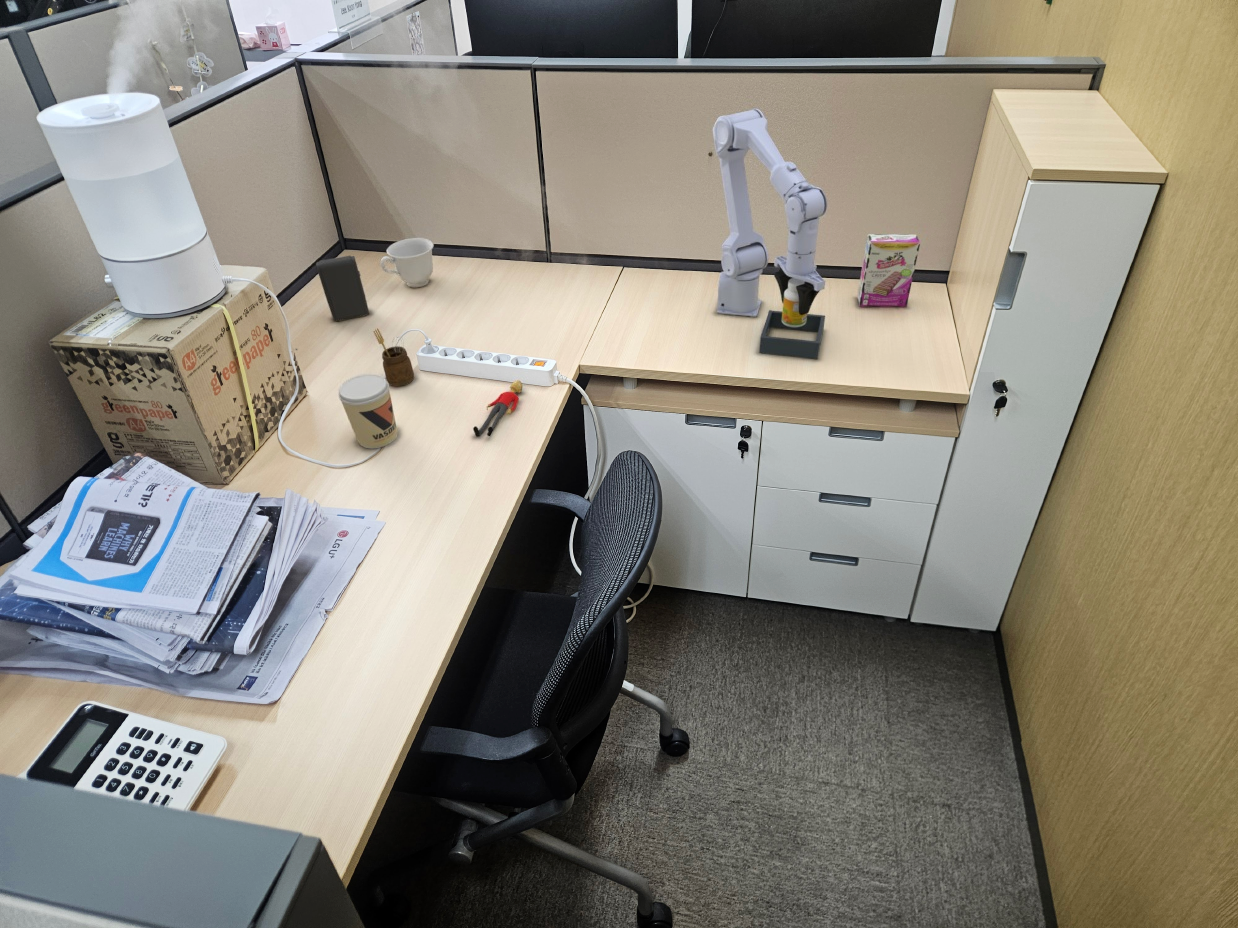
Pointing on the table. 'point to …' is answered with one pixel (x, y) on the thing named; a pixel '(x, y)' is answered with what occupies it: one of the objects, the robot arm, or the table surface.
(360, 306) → the dark grey upright block
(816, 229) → the robot arm
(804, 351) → the tray
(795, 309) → the supplement bottle
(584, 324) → the table surface
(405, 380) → the utensil holder
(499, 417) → the person figure
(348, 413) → the beige lidded canister
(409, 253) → the teacup
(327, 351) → the table surface
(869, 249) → the candy bar box
